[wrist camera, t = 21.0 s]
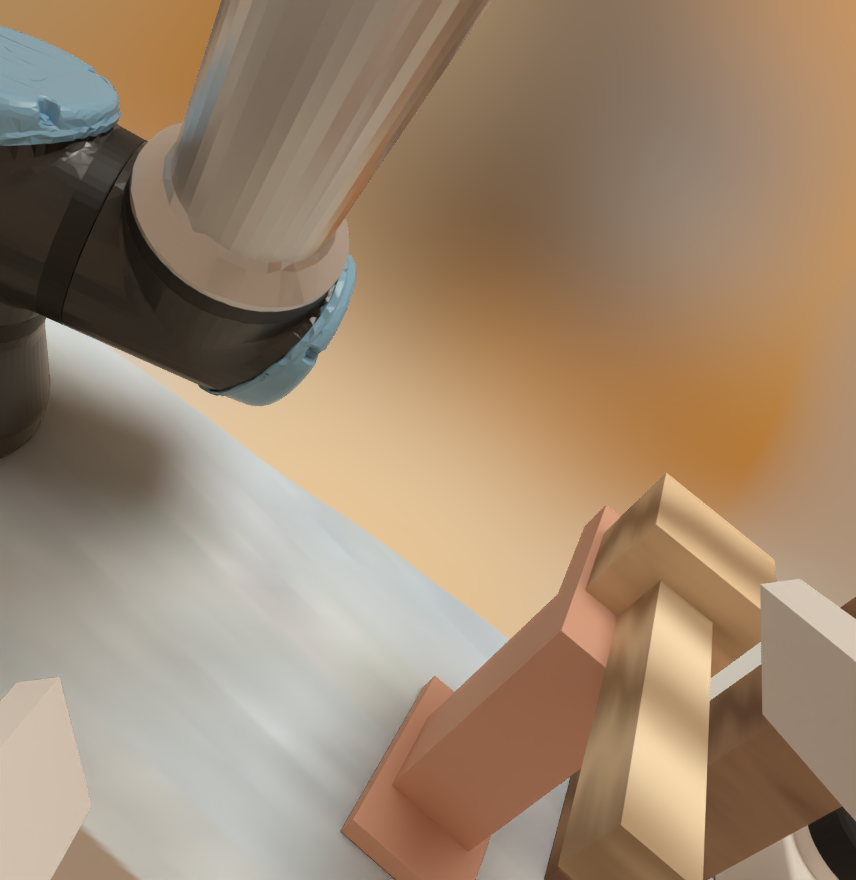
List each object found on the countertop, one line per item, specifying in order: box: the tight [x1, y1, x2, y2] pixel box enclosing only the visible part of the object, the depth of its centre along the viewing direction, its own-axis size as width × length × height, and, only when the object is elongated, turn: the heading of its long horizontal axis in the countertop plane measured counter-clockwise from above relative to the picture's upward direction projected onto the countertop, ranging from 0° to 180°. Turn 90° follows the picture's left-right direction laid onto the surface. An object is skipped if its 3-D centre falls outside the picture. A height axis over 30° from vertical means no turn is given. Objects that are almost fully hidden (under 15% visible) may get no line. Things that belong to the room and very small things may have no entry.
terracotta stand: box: [341, 505, 711, 880], centre depth 42 cm, size 13×8×20 cm, turn 155°
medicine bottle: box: [715, 806, 856, 880], centre depth 53 cm, size 7×7×12 cm
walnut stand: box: [545, 597, 856, 880], centre depth 44 cm, size 12×9×30 cm
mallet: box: [558, 473, 777, 880], centre depth 30 cm, size 20×7×5 cm, turn 155°
